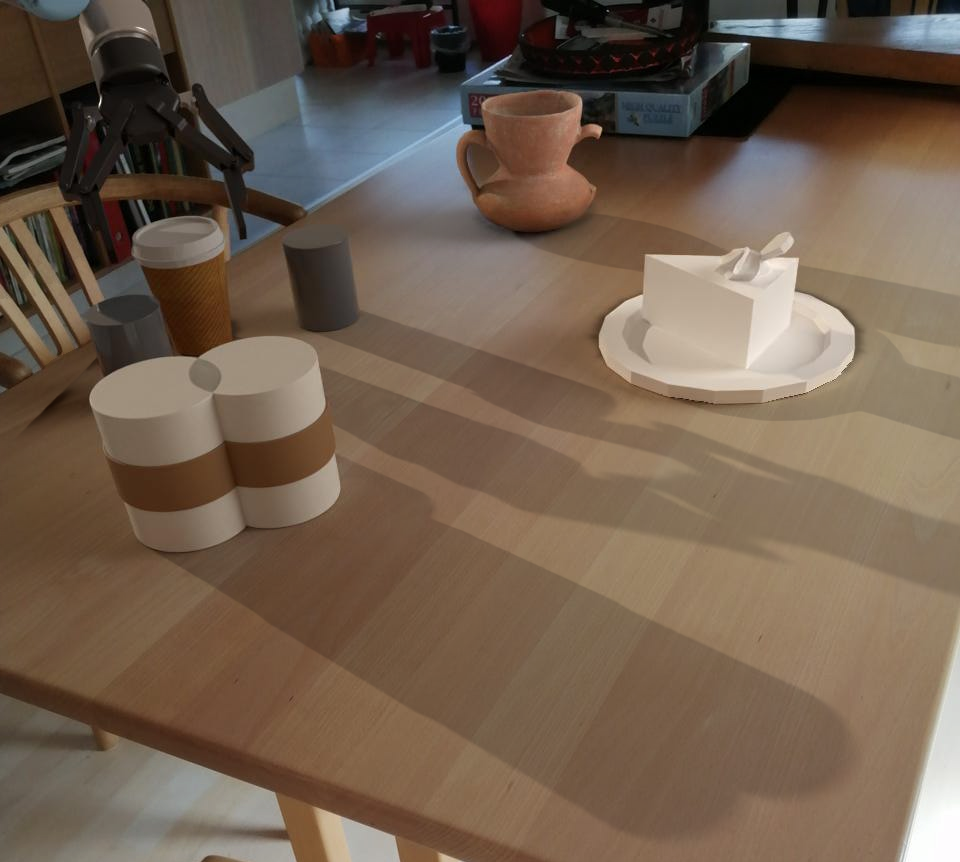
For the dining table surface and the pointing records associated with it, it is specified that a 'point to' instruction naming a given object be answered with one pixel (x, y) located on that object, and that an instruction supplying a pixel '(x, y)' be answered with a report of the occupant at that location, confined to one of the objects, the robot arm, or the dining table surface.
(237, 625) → the dining table surface
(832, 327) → the white wedge on plate
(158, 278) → the disposable coffee cup
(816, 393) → the dining table surface
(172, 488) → the white banded double cylinder
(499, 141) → the ceramic jug
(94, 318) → the grey tumblers
